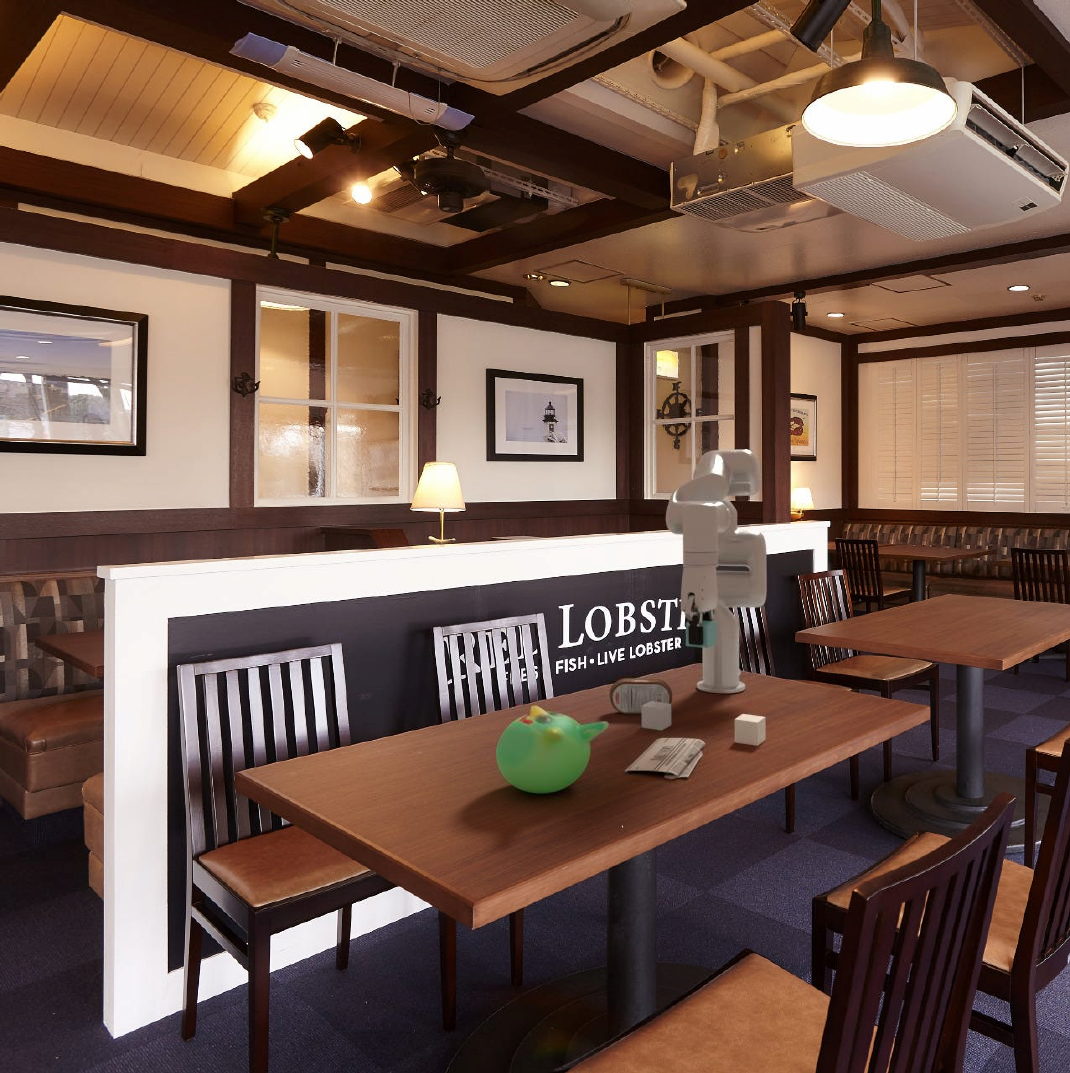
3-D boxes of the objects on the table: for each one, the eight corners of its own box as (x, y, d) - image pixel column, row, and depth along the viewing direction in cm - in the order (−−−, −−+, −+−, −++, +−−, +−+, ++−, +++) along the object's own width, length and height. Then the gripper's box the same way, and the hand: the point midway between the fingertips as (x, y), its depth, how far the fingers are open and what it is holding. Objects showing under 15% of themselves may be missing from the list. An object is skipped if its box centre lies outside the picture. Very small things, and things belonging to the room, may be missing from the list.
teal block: (695, 642, 190) (695, 619, 190) (716, 644, 187) (716, 621, 187) (685, 645, 186) (685, 623, 185) (707, 648, 183) (707, 624, 183)
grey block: (651, 722, 197) (651, 701, 197) (671, 725, 194) (671, 703, 194) (641, 727, 193) (641, 706, 193) (661, 730, 190) (661, 708, 190)
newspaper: (687, 784, 157) (685, 771, 157) (624, 782, 162) (623, 769, 162) (715, 748, 178) (713, 737, 178) (658, 748, 183) (657, 736, 183)
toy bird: (541, 767, 167) (540, 693, 166) (613, 785, 156) (612, 706, 155) (478, 794, 153) (476, 713, 152) (552, 815, 142) (551, 729, 141)
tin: (672, 712, 206) (672, 677, 205) (673, 715, 202) (672, 680, 202) (609, 711, 207) (609, 677, 207) (609, 715, 204) (609, 680, 203)
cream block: (742, 736, 185) (742, 713, 184) (765, 740, 182) (765, 717, 182) (734, 742, 181) (734, 719, 180) (757, 746, 178) (757, 722, 178)
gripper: (700, 556, 194) (700, 635, 195) (667, 562, 180) (668, 647, 181) (731, 557, 190) (731, 637, 191) (701, 563, 176) (701, 650, 177)
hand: (701, 641), depth 186 cm, fingers closed on teal block, 4 cm apart
